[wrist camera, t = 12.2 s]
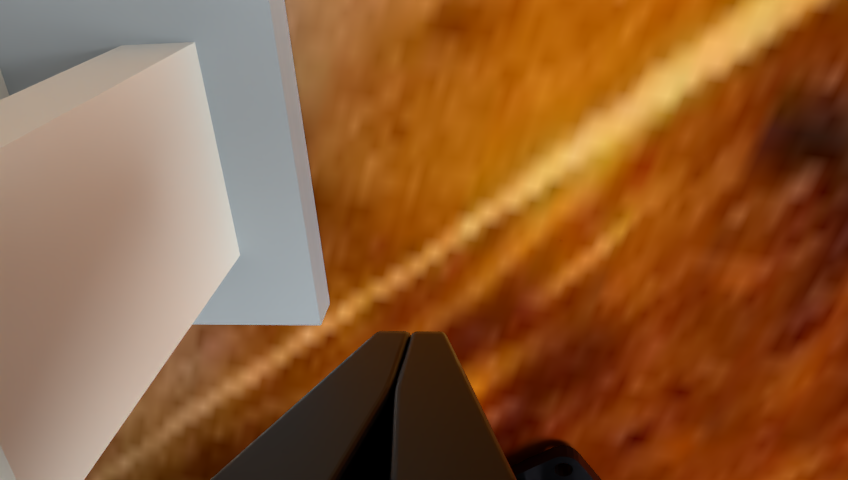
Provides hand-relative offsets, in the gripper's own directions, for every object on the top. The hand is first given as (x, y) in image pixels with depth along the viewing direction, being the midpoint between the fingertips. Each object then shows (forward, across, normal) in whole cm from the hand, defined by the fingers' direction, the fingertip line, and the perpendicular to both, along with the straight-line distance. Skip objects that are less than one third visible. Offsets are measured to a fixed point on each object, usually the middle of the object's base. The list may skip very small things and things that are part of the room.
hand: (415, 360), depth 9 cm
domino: (+7, +6, 0) cm, 9 cm away
